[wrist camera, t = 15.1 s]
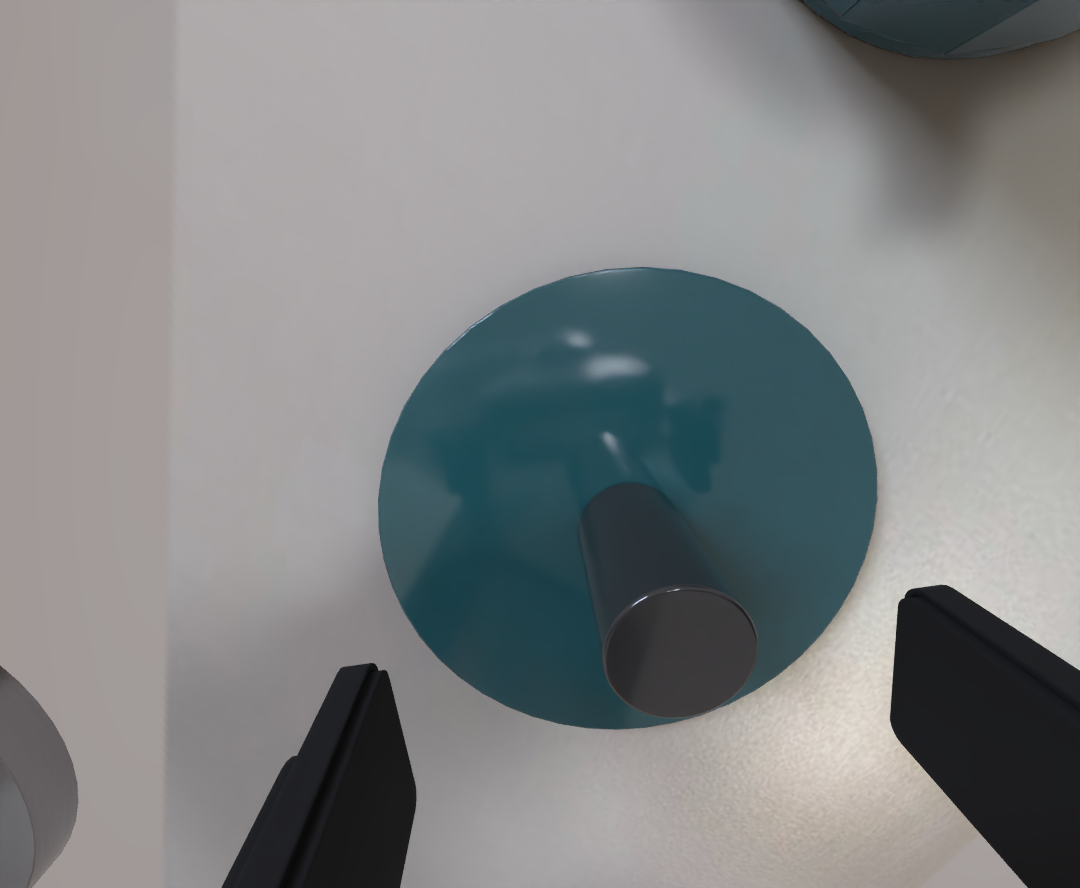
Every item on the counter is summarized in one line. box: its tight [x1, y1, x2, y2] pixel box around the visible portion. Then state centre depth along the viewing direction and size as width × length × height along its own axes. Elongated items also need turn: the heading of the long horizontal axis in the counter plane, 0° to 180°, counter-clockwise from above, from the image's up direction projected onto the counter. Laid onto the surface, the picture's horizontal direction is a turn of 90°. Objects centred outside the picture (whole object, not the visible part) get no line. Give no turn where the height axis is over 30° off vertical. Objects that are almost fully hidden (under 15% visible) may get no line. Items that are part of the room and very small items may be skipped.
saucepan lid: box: [378, 267, 877, 730], centre depth 13 cm, size 15×15×7 cm
